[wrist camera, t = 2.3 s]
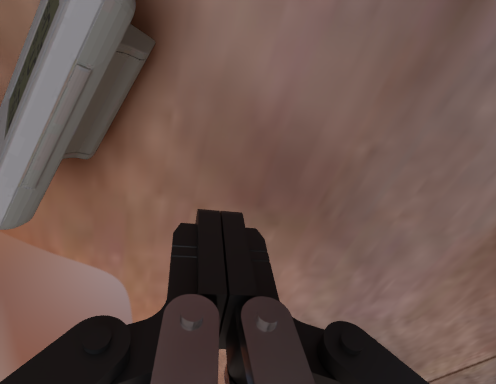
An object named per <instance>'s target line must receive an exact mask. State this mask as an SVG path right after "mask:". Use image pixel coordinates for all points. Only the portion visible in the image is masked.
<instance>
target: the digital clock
mask: <svg viewBox="0 0 496 384" xmlns="http://www.w3.org/2000/svg"><path fill="white" fill-rule="evenodd" d="M135 8H136V2H135V0H41V1H40V4H39V7H38V9H37V12H36V14H35V17H34V20H33V22H32V25H31V28H30V30H29V33H28V36H27V38H26V41H25V43H24V46H23V49H22V51H21V54H20V57H19V59H18V62H17V65H16V67H15V70H14V72H13V75H12V78H11V80H10V83H9V86H8V88H7V91H6V94H5V96H4V99H3V101H2V104H1V107H0V229H4V230H6V229H13V228H15V227H18V226H21V225H23V224H24V223H26V222H28V221H30V220H31V219H32V217H33V216H34V214H35V212H36V210H37V208H38V206H39V204H40V202H41V200H42V198H43V196H44V194H45V192H46V190H47V188H48V186H49V184H50V182H51V180H52V178H53V176H54V174H55V172H56V170H57V168H58V166H59V164H60V162H61V161H62V159H65V158H81V159H89V158H91V157H92V156H93V155H94V154H95V152H96V150H97V149H98V147H99V145H100V143H101V141H102V140H103V138H104V136H105V134H106V132H107V130H108V129H109V127H110V125H111V123H112V121H113V120H114V118H115V116H116V114H117V112H118V110H119V109H120V107H121V105H122V103H123V101H124V99H125V98H126V96H127V94H128V92H129V90H130V89H131V87H132V85H133V83H134V81H135V79H136V78H137V76H138V74H139V72H140V70H141V68H142V67H143V65H144V63H145V61H146V59H147V58H148V56H149V54H150V52H151V50H152V48H153V47H154V45H155V41H154V40H153V39H152V38H150V37H149V36H147V35H146V34H145V33H143V32H142V31H140V30H139V29H137V28H136V27H134V26H133V25H131V24H130V23H131V20H132V18H133V16H134V13H135Z"/></svg>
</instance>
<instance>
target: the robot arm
mask: <svg viewBox="0 0 496 384" xmlns="http://www.w3.org/2000/svg"><path fill="white" fill-rule="evenodd" d="M219 349H226V355H227V364H226V367H225V371H224V379H225V384H429V383H428V382H427V381H425V380H424V379H423V378H422V377H421V376H419V375H418V374H417V373H416V372H414V371H413V370H412V369H411V368H409V367H408V366H407V365H406V364H404V363H403V362H402V361H401V360H399V359H398V358H397V357H396V356H394V355H393V354H392V353H391V352H390V351H388V350H387V349H386V348H385V347H383V346H382V345H381V344H380V343H378V342H377V341H376V340H375V339H373V338H372V337H371V336H370V335H368V334H367V333H366V332H365V331H364V330H362V329H361V328H359V327H358V326H356V325H354V324H352V323H349V322H345V321H336V322H333V323H331V324H329V325H328V326H327V327H326V329H325V330H323V329H320V328H317V327H314V326H311V325H308V324H305V323H302V322H300V321H298V320H296V319H295V318H293V317H292V316H291V314H290V312H289V310H288V309H287V308H286V307H285V306H284V305H283V304H282V303H281V302H280V301H279V297H278V293H277V289H276V285H275V281H274V277H273V273H272V269H271V264H270V263H269V256H268V253H267V248H266V244H265V240H264V238H263V237H262V235H261V234H260V233H259V232H258V230H257V229H255V228H245V224H244V218H243V214H242V213H239V212H228V211H215V210H203V209H198V211H197V216H196V223H195V224H188V223H181V224H180V225H179V226H178V227H177V229H176V230H175V231H174V233H173V242H172V252H171V262H170V272H169V283H168V294H167V300H166V303H165V304H164V306H163V307H162V309H161V310H160V311H159V312H158V313H156V314H155V315H154V316H152V317H150V318H148V319H146V320H143V321H139V322H136V323H132V324H128V325H126V324H125V323H124V322H122V321H121V320H120V319H118V318H115V317H112V316H104V315H103V316H95V317H91V318H88V319H85V320H84V321H82V322H80V323H79V324H77V325H75V326H74V327H73V328H71V329H70V330H69V331H67V332H66V333H65V334H63V335H62V336H61V337H59V338H58V339H57V340H56V341H54V342H53V343H51V344H50V345H49V346H48V347H46V348H45V349H44V350H42V351H41V352H40V353H38V354H37V355H36V356H34V357H33V358H32V359H30V360H29V361H28V362H26V363H25V364H24V365H22V366H21V367H20V368H19V369H17V370H16V371H14V372H13V373H12V374H11V375H9V376H8V377H6V378H5V379H4V380H3V381H1V382H0V384H218V357H219Z"/></svg>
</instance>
